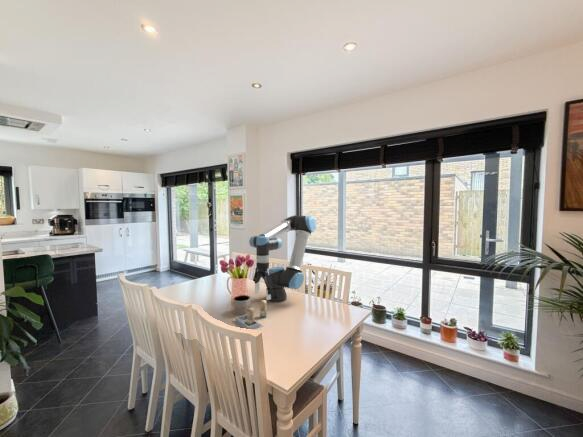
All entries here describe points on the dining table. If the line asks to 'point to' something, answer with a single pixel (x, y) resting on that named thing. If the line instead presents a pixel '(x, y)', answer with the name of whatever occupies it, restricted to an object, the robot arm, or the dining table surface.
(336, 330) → the dining table surface
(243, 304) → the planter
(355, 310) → the dining table surface
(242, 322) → the board
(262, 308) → the peg
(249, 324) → the peg
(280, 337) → the dining table surface
